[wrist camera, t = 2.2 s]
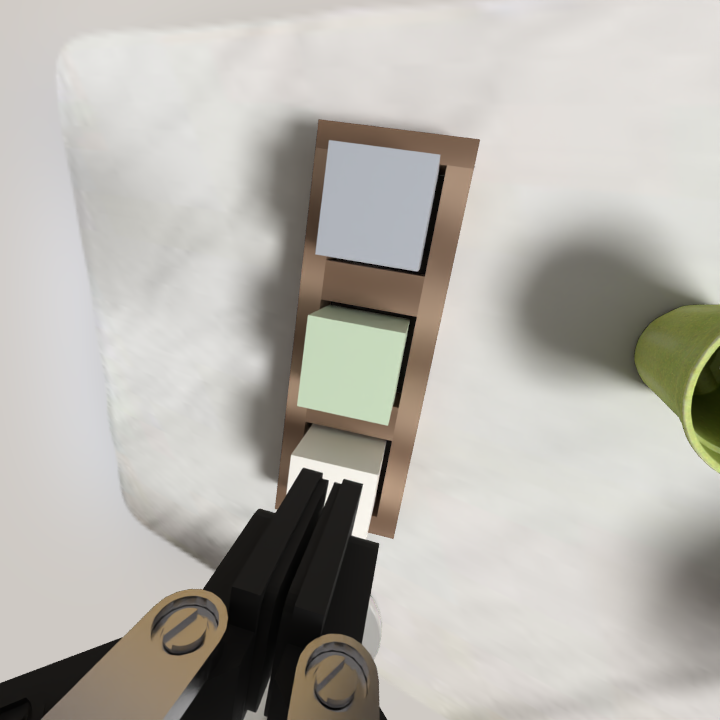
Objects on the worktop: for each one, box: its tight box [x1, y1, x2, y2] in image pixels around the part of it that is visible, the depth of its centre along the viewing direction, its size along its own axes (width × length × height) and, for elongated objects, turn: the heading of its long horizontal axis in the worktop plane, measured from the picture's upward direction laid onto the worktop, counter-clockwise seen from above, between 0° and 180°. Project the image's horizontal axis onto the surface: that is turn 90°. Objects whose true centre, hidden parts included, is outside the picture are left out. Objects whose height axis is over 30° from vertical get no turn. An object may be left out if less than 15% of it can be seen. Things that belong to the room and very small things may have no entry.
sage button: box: [297, 305, 410, 426], centre depth 25 cm, size 6×6×5 cm
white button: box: [286, 423, 387, 540], centre depth 27 cm, size 6×6×5 cm
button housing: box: [275, 119, 480, 539], centre depth 27 cm, size 27×9×3 cm, turn 171°
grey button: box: [315, 140, 440, 272], centre depth 22 cm, size 6×6×5 cm
